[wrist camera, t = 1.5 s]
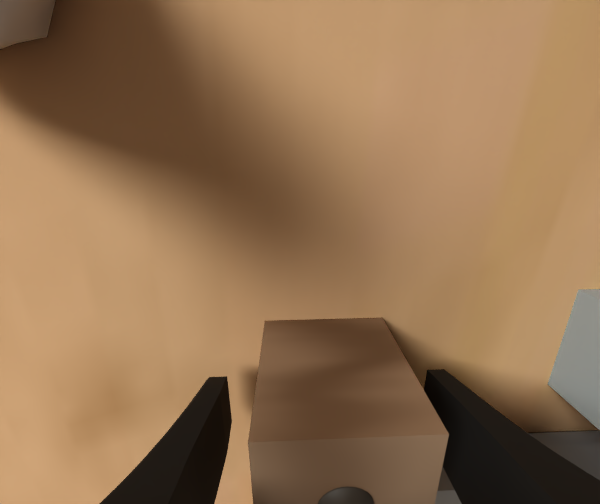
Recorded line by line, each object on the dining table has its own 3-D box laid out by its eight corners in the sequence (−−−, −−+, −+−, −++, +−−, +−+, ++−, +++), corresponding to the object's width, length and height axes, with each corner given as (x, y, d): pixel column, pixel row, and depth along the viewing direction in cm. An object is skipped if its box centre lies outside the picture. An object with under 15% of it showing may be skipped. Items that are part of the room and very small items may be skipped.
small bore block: (381, 316, 11) (449, 436, 7) (373, 407, 13) (424, 559, 8) (265, 320, 11) (247, 444, 6) (269, 411, 13) (258, 569, 8)
